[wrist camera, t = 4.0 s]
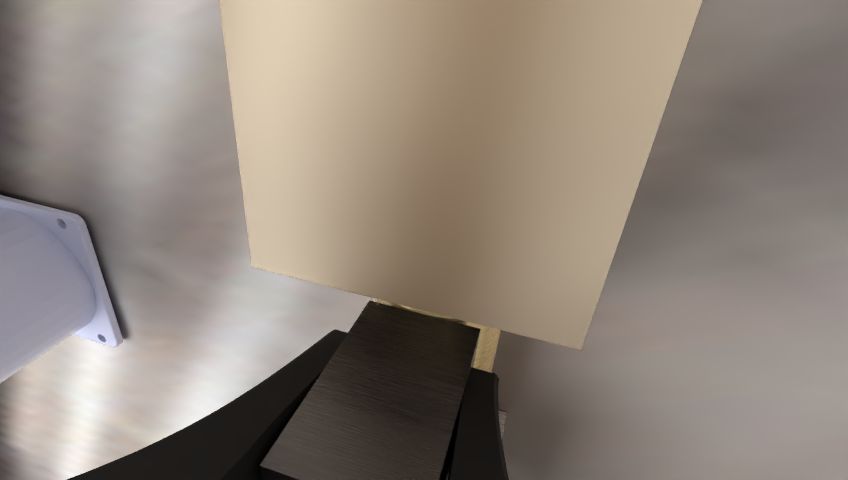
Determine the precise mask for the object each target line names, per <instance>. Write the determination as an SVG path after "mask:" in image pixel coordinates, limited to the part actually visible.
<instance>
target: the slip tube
mask: <svg viewBox="0 0 848 480" xmlns="http://www.w3.org/2000/svg"><path fill="white" fill-rule="evenodd" d="M500 332H501V330H498V329H494V328H490V327H486V326H483V325H479V324H475V323H471V322H467V321H463V320H459V319H455V318H451V317H447V316H443V315H439V314H435V313H431V312H427V311H423V310H419V309H415V308H411V307H408V306H404V305H400V304H396V303H392V302H388V301H384V300H380V299H376V298H374V301H369V302H368V304H367V305H366V307H365V308H364V310H363V311H362V313H361V314H360V316H359V317H358V319H357V320H356V322H355V323H354V325H353V326H352V328H351V329H350V331H349V332H348V334H347V335H346V337H345V338H344V340H343V341H342V343H341V344H340V346H339V347H338V349H337V350H336V352H335V353H334V355H333V356H332V358H331V359H330V361H329V362H328V364H327V365H326V367H325V368H324V370H323V371H322V373H321V374H320V376H319V377H318V379H317V380H316V382H315V383H314V385H313V386H312V388H311V389H310V391H309V392H308V394H307V395H306V397H305V398H304V400H303V401H302V403H301V404H300V406H299V407H298V409H297V410H296V412H295V413H294V415H293V416H292V418H291V419H290V421H289V422H288V424H287V425H286V427H285V428H284V430H283V431H282V433H281V434H280V436H279V437H278V439H277V440H276V442H275V443H274V445H273V446H272V448H271V449H270V451H269V452H268V454H267V455H266V457H265V458H264V460H263V461H262V463H261V464H260V471H261V477H262V480H447V478H448V472H449V467H450V461H451V456H452V451H453V445H454V440H455V435H456V429H457V424H458V419H459V414H460V408H461V403H462V398H463V393H464V389H465V386H466V383H467V379H468V376H469V373H470V370H471V367H473V368H476V369H480V370H484V371H487V372H491V373H492V368H493V364H494V359H495V355H496V350H497V346H498V341H499V337H500Z"/></svg>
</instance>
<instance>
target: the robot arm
mask: <svg viewBox="0 0 848 480" xmlns="http://www.w3.org/2000/svg"><path fill="white" fill-rule="evenodd" d="M347 334H348V333H346V332H342V331H339V330H333V331H331V332H330V333H328V334H327V335H326V336H324V337H323V338H322V339H321V340H319V341H318V342H317V343H315V344H314V345H313V346H311V347H310V348H309V349H307V350H306V351H305V352H303V353H302V354H301V355H299V356H298V357H297V358H295V359H294V360H293V361H291V362H290V363H288V364H287V365H286V366H284V367H283V368H281V369H280V370H278V371H277V372H276V373H274V374H273V375H271V376H270V377H269V378H267V379H266V380H264V381H263V382H261V383H260V384H258V385H257V386H255V387H254V388H252V389H250V390H249V391H247V392H246V393H244V394H243V395H241V396H240V397H238V398H236V399H235V400H233V401H232V402H230V403H228V404H227V405H225V406H223V407H222V408H220V409H218V410H217V411H215V412H213V413H211V414H210V415H208V416H206V417H204V418H202V419H201V420H199V421H197V422H195V423H193V424H192V425H190V426H188V427H186V428H184V429H182V430H180V431H178V432H176V433H174V434H172V435H170V436H168V437H166V438H164V439H162V440H160V441H158V442H156V443H153V444H151V445H149V446H147V447H145V448H143V449H141V450H139V451H136V452H134V453H132V454H129V455H127V456H125V457H122V458H120V459H117V460H115V461H113V462H110V463H108V464H105V465H103V466H101V467H98V468H96V469H93V470H91V471H88V472H86V473H83V474H81V475H78V476H75V477H73V478H70V479H67V480H262V477H261V471H260V464H261V463H262V461H263V460H264V458H265V457H266V455H267V454H268V452H269V451H270V449H271V448H272V446H273V445H274V443H275V442H276V440H277V439H278V437H279V436H280V434H281V433H282V431H283V430H284V428H285V427H286V425H287V424H288V422H289V421H290V419H291V418H292V416H293V415H294V413H295V412H296V410H297V409H298V407H299V406H300V404H301V403H302V401H303V400H304V398H305V397H306V395H307V394H308V392H309V391H310V389H311V388H312V386H313V385H314V383H315V382H316V380H317V379H318V377H319V376H320V374H321V373H322V371H323V370H324V368H325V367H326V365H327V364H328V362H329V361H330V359H331V358H332V356H333V355H334V353H335V352H336V350H337V349H338V347H339V346H340V344H341V343H342V341H343V340H344V338H345V337H346V335H347ZM71 335H76V336H79V337H82V338H85V339H88V340H91V341H95V342H98V343H101V344H104V345H107V346H110V347H117V346H119V345H120V344H121V343H122V342H123V338H122V335H121V332H120V329H119V325H118V322H117V319H116V316H115V313H114V310H113V307H112V304H111V301H110V297H109V294H108V291H107V288H106V285H105V282H104V279H103V276H102V272H101V269H100V266H99V263H98V260H97V257H96V254H95V251H94V248H93V244H92V241H91V238H90V235H89V232H88V229H87V226H86V223H85V221H84V220H83V219H82V218H81V217H80V216H79V215H77V214H75V213H71V212H67V211H63V210H59V209H55V208H51V207H47V206H43V205H38V204H34V203H30V202H26V201H22V200H18V199H14V198H10V197H6V196H2V195H0V383H2V382H3V381H5V380H6V379H8V378H9V377H10V376H12V375H13V374H15V373H16V372H18V371H19V370H21V369H22V368H24V367H25V366H27V365H28V364H30V363H31V362H33V361H34V360H36V359H37V358H38V357H40V356H41V355H43V354H44V353H46V352H47V351H49V350H50V349H52V348H53V347H55V346H56V345H58V344H59V343H61V342H62V341H64V340H65V339H67V338H68V337H69V336H71ZM498 381H499V378H498V377H497V375H496V374H495V373H491V372H487V371H484V370H480V369H476V368H473V367H471V370H470V373H469V376H468V379H467V383H466V386H465V389H464V393H463V398H462V403H461V408H460V414H459V419H458V424H457V429H456V435H455V440H454V445H453V451H452V456H451V461H450V467H449V472H448V478H447V480H509V479H508V474H507V469H506V463H505V458H504V451H503V445H502V438H501V431H500V423H499V411H498Z"/></svg>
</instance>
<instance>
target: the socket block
mask: <svg viewBox="0 0 848 480" xmlns="http://www.w3.org/2000/svg"><path fill="white" fill-rule="evenodd" d="M702 1H703V0H219V4H220V12H221V20H222V29H223V37H224V45H225V53H226V61H227V70H228V78H229V86H230V94H231V102H232V111H233V119H234V127H235V135H236V143H237V151H238V160H239V168H240V176H241V184H242V192H243V201H244V209H245V217H246V225H247V233H248V242H249V250H250V258H251V266H252V267H254V268H258V269H261V270H265V271H269V272H273V273H277V274H281V275H285V276H289V277H293V278H297V279H301V280H305V281H309V282H313V283H317V284H321V285H325V286H329V287H333V288H336V289H340V290H344V291H348V292H352V293H356V294H360V295H364V296H368V297H372V298H376V299H380V300H384V301H388V302H392V303H396V304H400V305H404V306H408V307H411V308H415V309H419V310H423V311H427V312H431V313H435V314H439V315H443V316H447V317H451V318H455V319H459V320H463V321H467V322H471V323H475V324H479V325H483V326H486V327H490V328H494V329H498V330H502V331H506V332H510V333H514V334H518V335H522V336H526V337H530V338H534V339H538V340H542V341H546V342H550V343H554V344H558V345H562V346H565V347H569V348H573V349H577V350H582V347H583V344H584V341H585V338H586V335H587V332H588V329H589V326H590V324H591V321H592V318H593V315H594V312H595V309H596V306H597V303H598V301H599V298H600V295H601V292H602V289H603V286H604V283H605V280H606V277H607V275H608V272H609V269H610V266H611V263H612V260H613V257H614V254H615V252H616V249H617V246H618V243H619V240H620V237H621V234H622V231H623V228H624V226H625V223H626V220H627V217H628V214H629V211H630V208H631V205H632V203H633V200H634V197H635V194H636V191H637V188H638V185H639V182H640V179H641V177H642V174H643V171H644V168H645V165H646V162H647V159H648V156H649V154H650V151H651V148H652V145H653V142H654V139H655V136H656V133H657V130H658V128H659V125H660V122H661V119H662V116H663V113H664V110H665V107H666V105H667V102H668V99H669V96H670V93H671V90H672V87H673V84H674V81H675V79H676V76H677V73H678V70H679V67H680V64H681V61H682V58H683V56H684V53H685V50H686V47H687V44H688V41H689V38H690V35H691V32H692V30H693V27H694V24H695V21H696V18H697V15H698V12H699V9H700V7H701V4H702Z"/></svg>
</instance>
